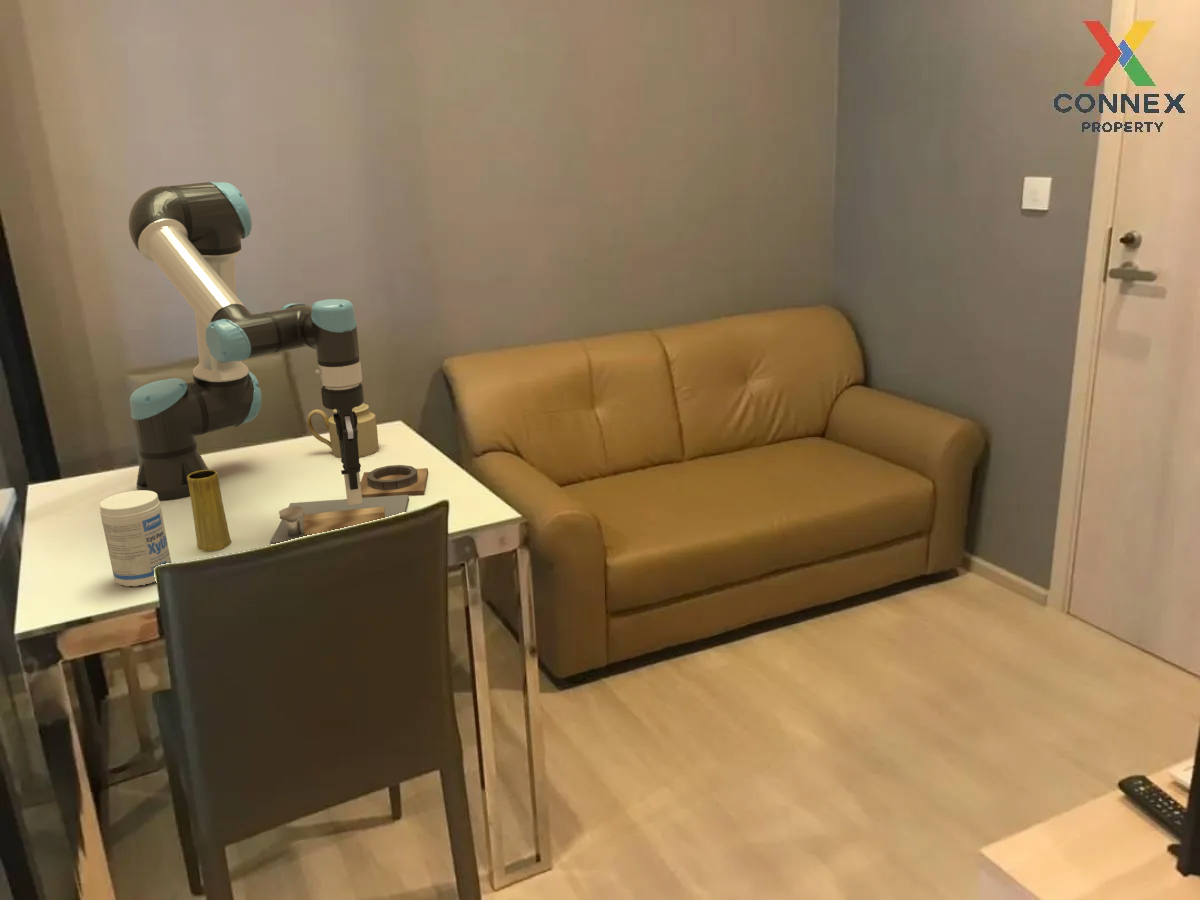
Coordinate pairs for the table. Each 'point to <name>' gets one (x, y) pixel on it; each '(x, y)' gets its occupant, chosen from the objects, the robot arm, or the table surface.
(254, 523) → the table surface
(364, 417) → the sugar bowl
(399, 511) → the board
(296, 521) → the pivot post
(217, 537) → the vase
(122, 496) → the supplement tub
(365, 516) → the folding leg
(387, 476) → the socket block
